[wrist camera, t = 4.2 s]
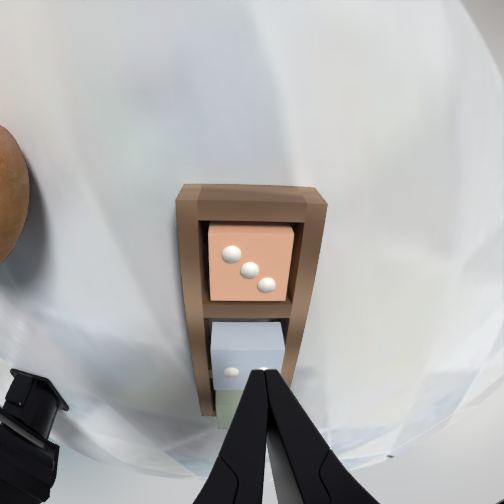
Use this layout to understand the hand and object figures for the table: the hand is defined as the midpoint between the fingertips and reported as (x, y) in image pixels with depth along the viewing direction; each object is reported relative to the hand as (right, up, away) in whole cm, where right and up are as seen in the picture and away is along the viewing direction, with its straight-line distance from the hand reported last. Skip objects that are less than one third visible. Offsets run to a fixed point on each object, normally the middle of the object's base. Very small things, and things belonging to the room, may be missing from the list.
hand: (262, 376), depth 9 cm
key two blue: (-1, -2, +9) cm, 9 cm away
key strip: (-1, -1, +11) cm, 11 cm away
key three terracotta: (-1, +4, +8) cm, 9 cm away
